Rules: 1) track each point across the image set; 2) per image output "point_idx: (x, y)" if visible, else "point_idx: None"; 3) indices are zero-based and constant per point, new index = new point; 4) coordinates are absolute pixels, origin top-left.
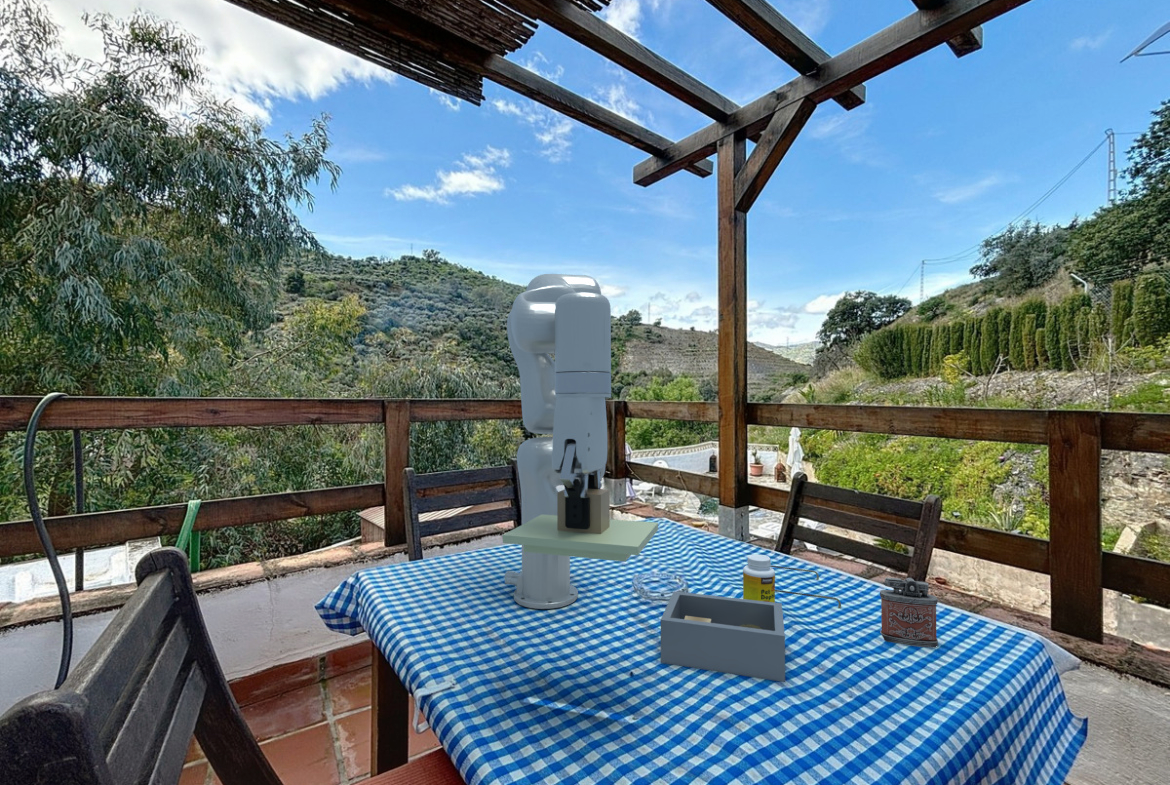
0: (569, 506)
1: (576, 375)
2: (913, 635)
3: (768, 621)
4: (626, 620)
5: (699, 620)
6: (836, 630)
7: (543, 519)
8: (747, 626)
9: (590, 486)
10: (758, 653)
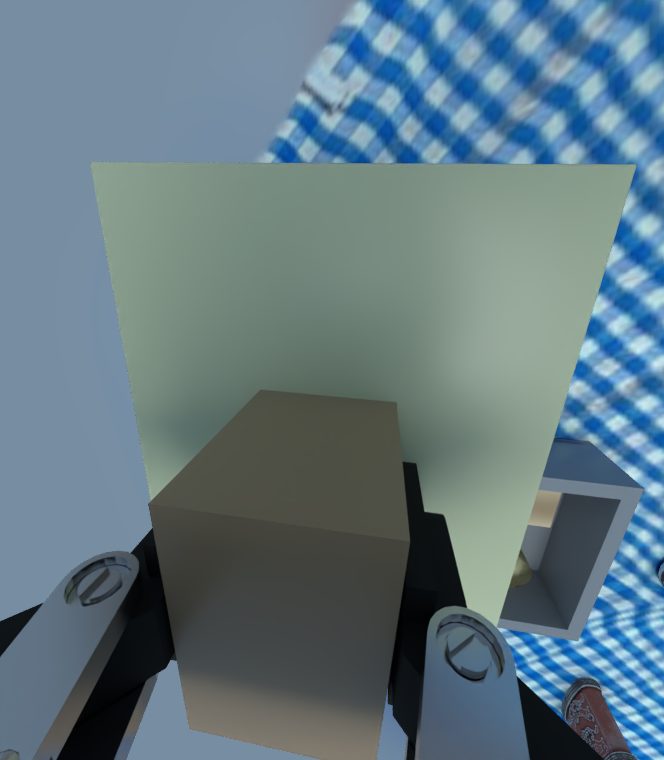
0: (152, 531)
1: None
2: (572, 712)
3: (555, 596)
4: (653, 353)
5: (541, 510)
6: (611, 643)
7: (473, 240)
8: (522, 571)
9: (405, 707)
10: None
